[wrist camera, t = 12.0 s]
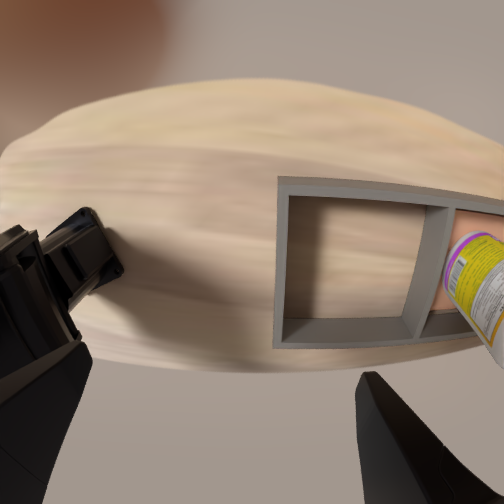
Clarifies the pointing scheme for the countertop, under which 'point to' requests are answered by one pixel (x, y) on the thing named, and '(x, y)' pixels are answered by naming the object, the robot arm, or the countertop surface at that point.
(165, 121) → the countertop surface
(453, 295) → the supplement bottle
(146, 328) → the countertop surface
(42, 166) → the countertop surface
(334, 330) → the tray
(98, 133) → the countertop surface
